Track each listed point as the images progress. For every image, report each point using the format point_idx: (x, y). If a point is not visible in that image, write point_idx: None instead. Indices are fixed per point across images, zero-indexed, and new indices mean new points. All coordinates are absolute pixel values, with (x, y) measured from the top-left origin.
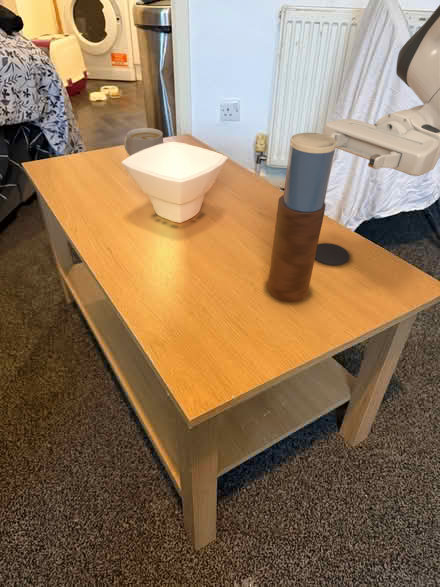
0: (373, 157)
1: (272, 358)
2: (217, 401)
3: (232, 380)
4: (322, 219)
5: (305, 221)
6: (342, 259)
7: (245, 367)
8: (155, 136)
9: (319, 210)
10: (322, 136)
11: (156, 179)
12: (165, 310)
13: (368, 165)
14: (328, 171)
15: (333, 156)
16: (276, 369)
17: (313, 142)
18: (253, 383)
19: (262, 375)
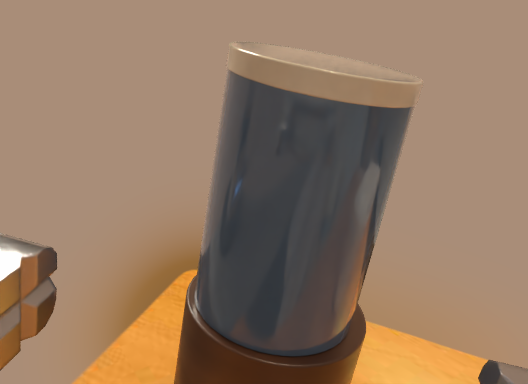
0: (26, 240)
1: (140, 355)
2: (175, 283)
3: (176, 307)
4: (180, 343)
5: None
6: None
7: (172, 327)
8: None
9: (195, 282)
10: (329, 66)
11: None
12: (364, 360)
13: (50, 307)
14: (215, 149)
15: (224, 102)
16: (124, 342)
17: (307, 54)
18: (146, 313)
19: (140, 326)
